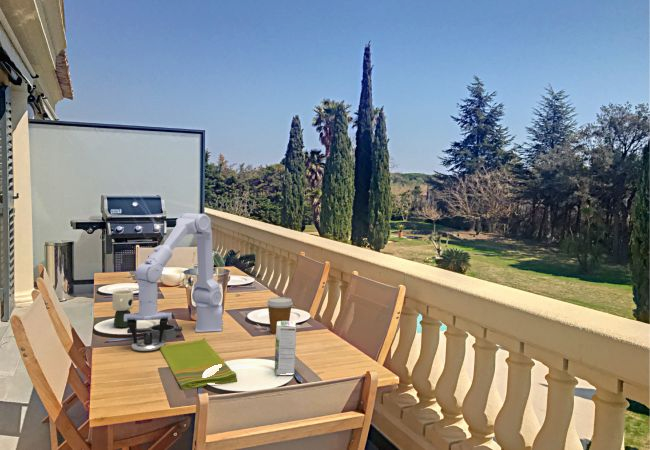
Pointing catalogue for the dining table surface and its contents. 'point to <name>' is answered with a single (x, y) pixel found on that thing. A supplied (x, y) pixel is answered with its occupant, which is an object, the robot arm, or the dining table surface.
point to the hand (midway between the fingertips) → (147, 341)
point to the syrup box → (285, 347)
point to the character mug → (122, 306)
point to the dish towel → (196, 364)
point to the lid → (147, 343)
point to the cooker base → (155, 329)
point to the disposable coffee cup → (278, 311)
